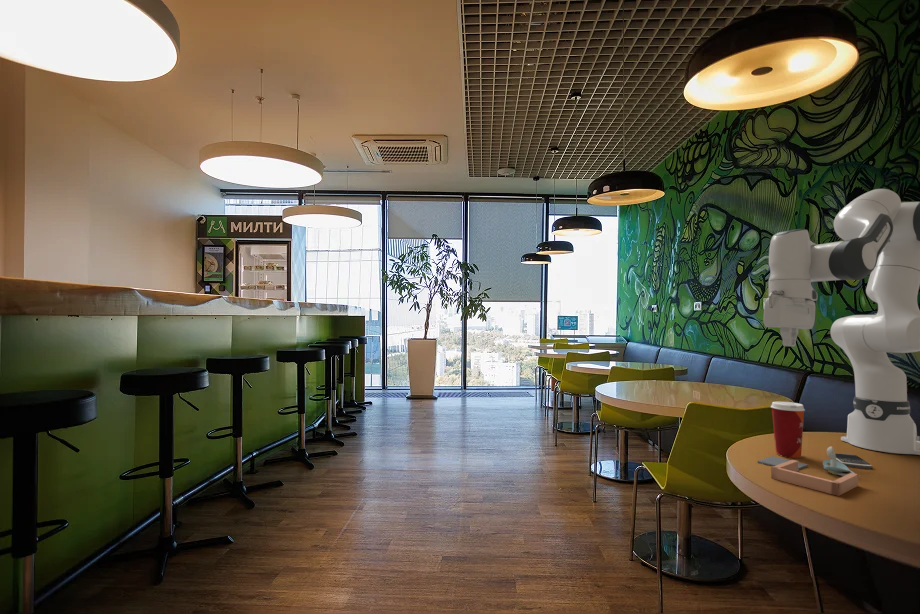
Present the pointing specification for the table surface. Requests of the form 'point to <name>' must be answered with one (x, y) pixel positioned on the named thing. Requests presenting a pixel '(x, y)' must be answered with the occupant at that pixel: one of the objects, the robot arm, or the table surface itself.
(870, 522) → the table surface
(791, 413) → the paper cup
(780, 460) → the gray tile
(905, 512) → the table surface
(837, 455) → the cell phone
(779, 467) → the pink u-shaped bracket
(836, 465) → the pacifier
